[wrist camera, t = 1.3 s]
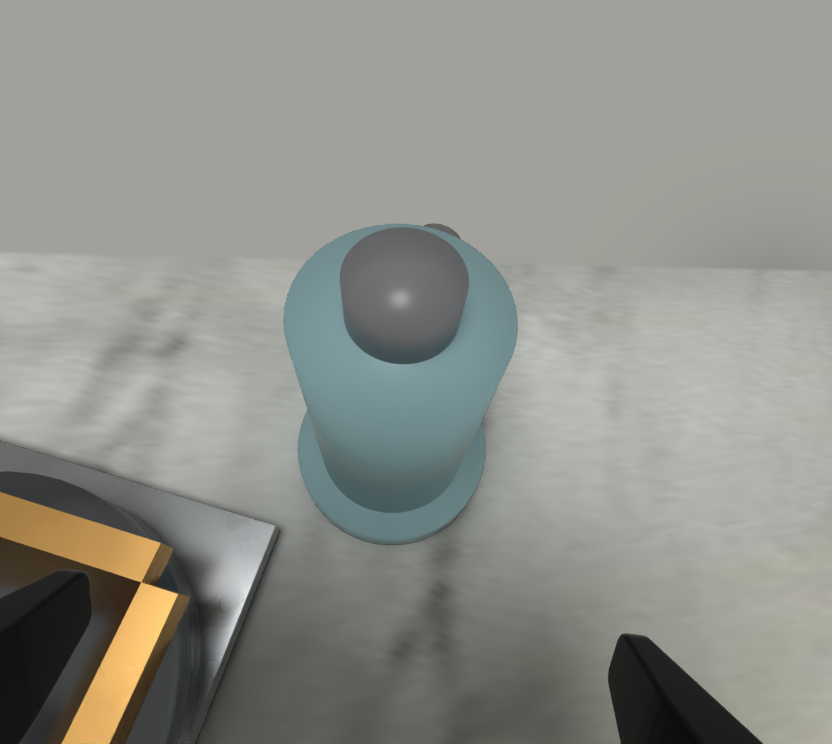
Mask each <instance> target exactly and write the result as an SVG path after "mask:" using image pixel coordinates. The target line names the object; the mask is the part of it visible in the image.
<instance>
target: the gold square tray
mask: <svg viewBox="0 0 832 744" xmlns="http://www.w3.org/2000/svg"><path fill="white" fill-rule="evenodd" d="M279 531H280V530H279V529H278V528H277V527H276V526H274V525H271V524H267V523H264V522H261V521H258V520H255V519H251V518H248V517H245V516H242V515H238V514H235V513H232V512H229V511H225V510H222V509H219V508H216V507H212V506H209V505H206V504H203V503H200V502H196V501H193V500H190V499H187V498H183V497H180V496H177V495H174V494H170V493H167V492H164V491H161V490H157V489H154V488H151V487H148V486H145V485H141V484H138V483H135V482H132V481H128V480H125V479H122V478H119V477H115V476H112V475H109V474H106V473H102V472H99V471H96V470H93V469H89V468H86V467H83V466H80V465H77V464H73V463H70V462H67V461H64V460H60V459H57V458H54V457H51V456H47V455H44V454H41V453H38V452H34V451H31V450H28V449H25V448H22V447H18V446H15V445H12V444H9V443H5V442H2V441H0V598H1V597H3V596H5V595H8V594H10V593H12V592H14V591H16V590H18V589H20V588H22V587H24V586H26V585H28V584H30V583H32V582H34V581H36V580H39V579H41V578H43V577H45V576H47V575H49V574H51V573H53V572H55V571H57V570H60V569H70V570H78V571H84V572H86V573H87V574H88V576H89V579H90V589H91V600H92V617H91V620H90V623H89V625H88V627H87V629H86V631H85V633H84V635H83V636H82V638H81V640H80V642H79V643H78V645H77V647H76V649H75V651H74V652H73V654H72V656H71V658H70V659H69V661H68V663H67V665H66V666H65V668H64V670H63V672H62V674H61V675H60V677H59V679H58V681H57V682H56V684H55V686H54V688H53V689H52V691H51V693H50V695H49V697H48V698H47V700H46V702H45V704H44V705H43V707H42V709H41V710H40V712H39V714H38V715H37V717H36V719H35V720H34V722H33V723H32V725H31V727H30V728H29V730H28V731H27V733H26V734H25V736H24V737H23V739H22V740H21V742H20V743H19V744H195V743H196V741H197V738H198V736H199V733H200V731H201V728H202V726H203V723H204V721H205V718H206V715H207V713H208V710H209V708H210V705H211V703H212V700H213V698H214V695H215V693H216V690H217V688H218V685H219V683H220V680H221V677H222V675H223V672H224V670H225V667H226V665H227V662H228V660H229V657H230V655H231V652H232V650H233V647H234V645H235V642H236V640H237V637H238V634H239V632H240V629H241V627H242V624H243V622H244V619H245V617H246V614H247V612H248V609H249V607H250V604H251V602H252V599H253V597H254V594H255V591H256V589H257V586H258V584H259V581H260V579H261V576H262V574H263V571H264V569H265V566H266V564H267V561H268V559H269V556H270V554H271V551H272V548H273V546H274V543H275V541H276V538H277V536H278V533H279Z"/></svg>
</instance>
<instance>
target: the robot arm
mask: <svg viewBox="0 0 832 744" xmlns="http://www.w3.org/2000/svg"><path fill="white" fill-rule="evenodd" d="M91 617H92V600H91V589H90V579H89V576H88V574H87V573H86V572H84V571H78V570H70V569H60V570H57V571H55V572H53V573H51V574H49V575H47V576H45V577H43V578H41V579H39V580H36V581H34V582H32V583H30V584H28V585H26V586H24V587H22V588H20V589H18V590H16V591H14V592H12V593H10V594H8V595H5V596H3V597H1V598H0V744H19V743H20V742H21V740H22V739H23V737H24V736H25V734H26V733H27V731H28V730H29V728H30V727H31V725H32V723H33V722H34V720H35V719H36V717H37V715H38V714H39V712H40V710H41V709H42V707H43V705H44V704H45V702H46V700H47V698H48V697H49V695H50V693H51V691H52V689H53V688H54V686H55V684H56V682H57V681H58V679H59V677H60V675H61V674H62V672H63V670H64V668H65V666H66V665H67V663H68V661H69V659H70V658H71V656H72V654H73V652H74V651H75V649H76V647H77V645H78V643H79V642H80V640H81V638H82V636H83V635H84V633H85V631H86V629H87V627H88V625H89V623H90V620H91ZM608 682H609V689H610V693H611V698H612V703H613V708H614V712H615V717H616V722H617V727H618V731H619V736H620V741H621V744H763V743H762V742H761V741H760V740H759V739H758V738H757V737H755V736H754V735H753V734H752V733H751V732H750V731H749V730H748V729H747V728H746V727H745V726H744V725H742V724H741V723H740V722H739V721H738V720H737V719H736V718H735V717H734V716H733V715H732V714H731V713H729V712H728V711H727V710H726V709H725V708H724V707H723V706H722V705H721V704H720V703H719V702H718V701H716V700H715V699H714V698H713V697H712V696H711V695H710V694H709V693H708V692H707V691H706V690H704V689H703V688H702V687H701V686H700V685H699V684H698V683H697V682H696V681H695V680H694V679H693V678H691V677H690V676H689V675H688V674H687V673H686V672H685V671H684V670H683V669H682V668H681V667H680V666H678V665H677V664H676V663H675V662H674V661H673V660H672V659H671V658H670V657H669V656H668V655H667V654H665V653H664V652H663V651H662V650H661V649H660V648H659V647H658V646H657V645H656V644H655V643H654V642H652V641H651V640H650V639H649V638H648V637H646V636H643V635H635V634H627V633H625V634H622V635H620V637H619V638H618V641H617V644H616V647H615V651H614V654H613V657H612V661H611V664H610V667H609V672H608Z"/></svg>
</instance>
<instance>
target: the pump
mask: <svg viewBox="0 0 832 744" xmlns="http://www.w3.org/2000/svg"><path fill="white" fill-rule="evenodd" d="M283 321H284V333H285V338H286V342H287V346H288V349H289V352H290V356H291V359H292V362H293V365H294V368H295V372H296V375H297V378H298V381H299V384H300V387H301V391H302V394H303V397H304V400H305V403H306V407H307V412H306V414H305V416H304V419H303V422H302V425H301V429H300V434H299V439H298V458H299V465H300V469H301V474H302V477H303V479H304V482H305V484H306V487H307V489H308V491H309V493H310V495H311V497H312V499H313V500H314V502H315V504H316V506H317V507H318V508H319V510H320V511H321V512H322V514H323V515H324V516H325V517H326V518H327V519H328V520H329V521H330V522H331V523H332V524H334V525H335V526H336V527H338V528H339V529H340V530H342V531H344V532H345V533H347V534H349V535H351V536H353V537H355V538H358V539H360V540H363V541H367V542H371V543H375V544H385V545H397V544H406V543H411V542H415V541H418V540H421V539H424V538H427V537H429V536H431V535H433V534H435V533H437V532H438V531H440V530H441V529H443V528H444V527H446V526H447V525H448V524H449V523H450V522H451V521H453V520H454V519H455V518H456V517H457V515H458V514H459V513H460V512H461V511H462V510H463V508H464V507H465V505H466V504H467V502H468V501H469V499H470V498H471V496H472V494H473V493H474V491H475V489H476V487H477V485H478V483H479V481H480V478H481V474H482V471H483V467H484V461H485V438H484V432H483V428H482V424H481V420H482V418H483V416H484V414H485V412H486V410H487V408H488V406H489V404H490V402H491V399H492V397H493V395H494V393H495V391H496V389H497V387H498V385H499V383H500V381H501V378H502V376H503V374H504V372H505V370H506V368H507V366H508V364H509V362H510V360H511V358H512V355H513V351H514V348H515V345H516V339H517V332H518V318H517V312H516V306H515V303H514V300H513V297H512V293H511V291H510V289H509V287H508V285H507V283H506V281H505V280H504V278H503V277H502V275H501V274H500V272H499V271H498V270H497V268H496V267H495V266H494V265H493V264H492V263H491V262H490V261H489V260H488V259H487V258H486V257H485V256H484V255H483V254H482V253H481V252H479V251H478V250H477V249H475V248H474V247H472V246H471V245H470V244H468V243H466V242H464V241H463V240H461V239H460V237H459V235H458V234H457V233H456V232H455V231H454V230H452V229H451V228H449V227H447V226H444V225H441V224H427V225H424V226H419V225H409V224H385V225H376V226H371V227H366V228H362V229H359V230H356V231H352V232H350V233H347V234H345V235H343V236H341V237H338V238H337V239H335V240H333V241H331V242H330V243H328V244H326V245H325V246H324V247H322V248H321V249H320V250H318V251H317V252H316V253H315V254H314V255H313V256H312V257H311V258H310V259H309V260H308V261H307V262H306V263H305V264H304V265H303V267H302V268H301V269H300V270H299V272H298V274H297V275H296V277H295V279H294V280H293V282H292V284H291V287H290V289H289V292H288V294H287V298H286V303H285V307H284V319H283Z"/></svg>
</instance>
